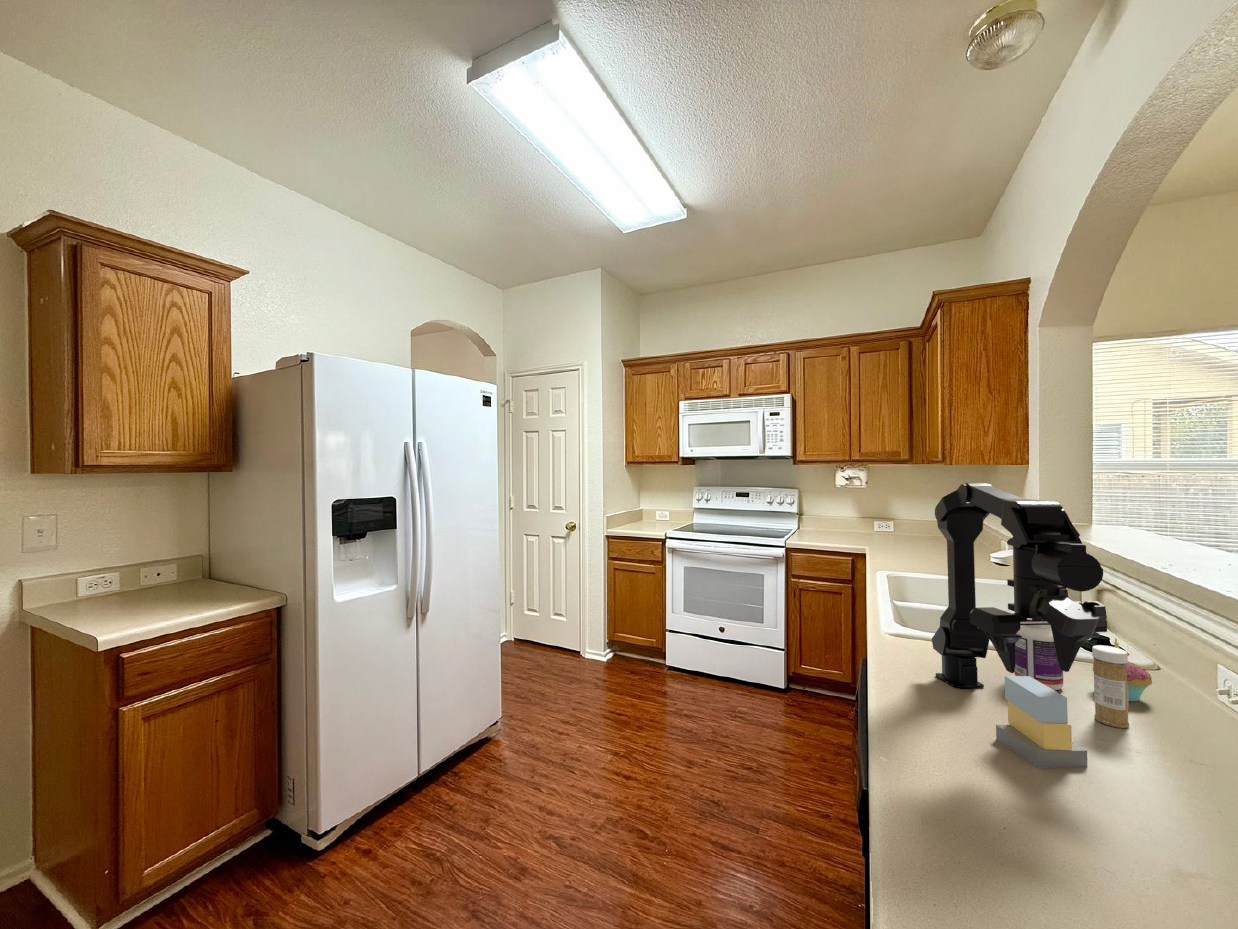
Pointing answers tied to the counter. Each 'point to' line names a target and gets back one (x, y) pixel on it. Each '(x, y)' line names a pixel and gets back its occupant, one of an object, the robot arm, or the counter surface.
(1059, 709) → the blue brick
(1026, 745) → the base slab
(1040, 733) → the ochre brick
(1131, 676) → the cupcake
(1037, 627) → the pill bottle
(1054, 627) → the robot arm
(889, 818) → the counter surface
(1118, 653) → the sprinkles bottle
